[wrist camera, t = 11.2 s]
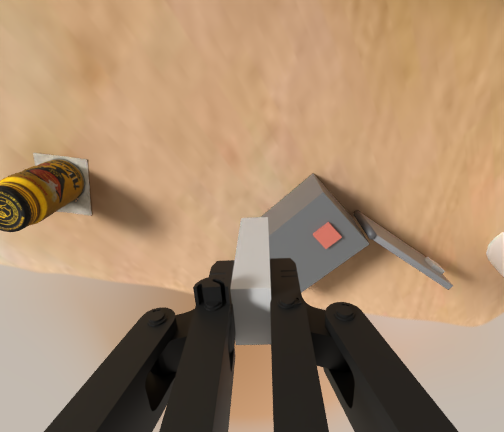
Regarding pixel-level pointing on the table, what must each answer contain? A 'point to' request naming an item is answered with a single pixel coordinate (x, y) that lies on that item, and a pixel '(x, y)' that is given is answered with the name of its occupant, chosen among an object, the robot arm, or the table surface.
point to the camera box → (312, 231)
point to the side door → (402, 250)
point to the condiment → (44, 191)
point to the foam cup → (497, 253)
